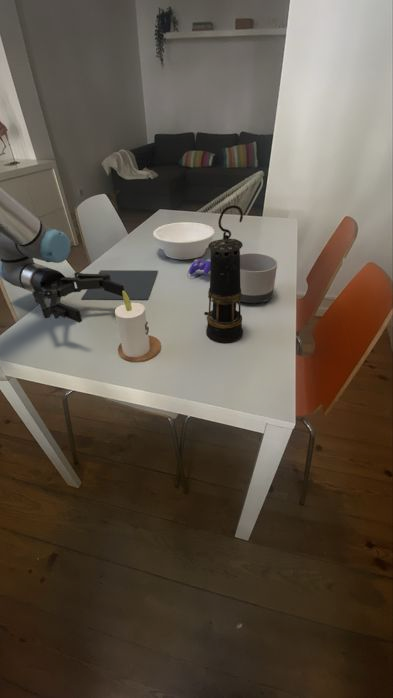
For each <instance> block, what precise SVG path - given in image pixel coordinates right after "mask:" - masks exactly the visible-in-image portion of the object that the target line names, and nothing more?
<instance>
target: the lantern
mask: <svg viewBox="0 0 393 698" xmlns="http://www.w3.org/2000/svg"><path fill="white" fill-rule="evenodd" d="M231 209H236V210H238V212H239V214H240V216H239V223H242V221H243V219H244V214H243V213H244V212H243V210H242V209H241V207H240V206H238V205H233V204H232V205H229V206H226V207H225V208H224V209H223V210H222V211H221V213H220V215H219V218H218V227H219V229H220V230H221V231H222V232H223V233H222V238H221V239H215V240H212V242H211V243H210V244H209V246H208V247H207V248H208V249H209V250H210V259H211V266H210V272H209V288H208V291H207V298H208V311H205V312H204V313H203V315H204V316H206V321H207V327H206V330H205V334H206V336H207V338H208V339H209V340H210V341H212V342H214V343H218V344H233V343H236V342H238V341H239V340H241V339H242V338H243V335H244V329H243V327H242V326H243V325H242V323H243V316H242V314H241V301H240V299H241V288H240V254H241V251H240V250H241V249H242V248H243V242H242V240H239V239H236V238H231V237H232V232H231V230H229V229H227V228H223V226H222V219H223V217H224V214H225V213H226V212H227V211H228V210H231ZM237 302H238V310H237ZM211 307H212V309H211Z"/></svg>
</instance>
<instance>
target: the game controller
mask: <svg viewBox="0 0 393 698" xmlns="http://www.w3.org/2000/svg"><path fill="white" fill-rule="evenodd" d="M210 266H211V258H207V259H206V258H205V259H198V258H195V259H194V261H193V262H192V264H191V265H190V267H189V269H188V271H187V273H188V275H194V274H195V273H196V272H197V271H203V273H201V274H200V275H198V276H196V277H193V278H192V280H194V279H196V278H199V277H200V276H202V275H208V274H210ZM187 278H188V279H189V280H191V278H190V277H189V276H187Z"/></svg>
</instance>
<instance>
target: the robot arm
mask: <svg viewBox="0 0 393 698" xmlns="http://www.w3.org/2000/svg"><path fill="white" fill-rule="evenodd" d="M70 253H71V242H70V239H69V237H68V236H67V235H66V233H65V232H63V231H62V230H58V229H56V228H50V227H49V226H48V225H46V224H45V222H43V221H42V220H41V219H39V218H38V217H37V216H36V215H35V214H34V213H32V212H31V211H30V210H29V209H28V208H27V207H26V206H24V204H22V203H21V202H20V200H18V199H17V198H16V197H14V196H13V195H12V194H11V193H10V192H9V191H7V189H5V188H4V187H3V186H2V185H1V184H0V278H2V279H3V281H5V282H7V283H9V284H10V285H12V286H14V287H18V288H21V289H23V290H26V291H28V292H31V294H32V297H33V298H34V302H35V303H36V304H38V305H39V307H40V309H41V312H42V315H43V317H44V319H49V318H50V317H51V316H52V315H53V318H54V319H59V318H64V319H65V318H68V319H70V320H72V321H74V322H77V323H81V322H83V318H82V317H81V312H80V310H79V309H76V308H74V307H72V306H69V305H66V304H64V303H62V302H61V301H62V298H63V297H66V296H68V295H70V294H73V293H80V292H82V291H87V290H88V289H101V288H104V290H105V291H108V292H111V293H114V294H117V295H120V296H122V297H123V294H122V291H124V287H123V285H120V284H117V283H116V282H113V281H111V278H110V275H109V274H98V273H82V272H73V273H74V274H73V275H74V276H72V277H71V276H65V275H64V274H63V273H62V272H60V271H59V270H57V269H53V268H51V267H48V266H46V265H41V264H39V263H35V260H39V261H44V262H45V263H54V264H60V263H63V262H64V261H66V260H67V259H68V258H69V255H70ZM34 259H35V260H34ZM45 299H48V300H50V302H49V306H47V303H46V301H45Z"/></svg>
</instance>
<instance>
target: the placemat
mask: <svg viewBox="0 0 393 698" xmlns="http://www.w3.org/2000/svg"><path fill="white" fill-rule="evenodd" d="M158 272H159V270H150V269H149V270H144V269H143V270H141V269H139V270H136V269H135V270H131V269H129V270H127V269H126V270H125V269H124V270H123V269H122V270H120V269H119V270H117V269H116V270H115V269H113V270H111V269H109V270H108V269H107V270H106V269H105V270H104V269H102V270H100V271H98V273H97V274H109V275H110V278H111V281H113V282H116V283H117V284H120V285H123V287H124V292H126V294H127V295H128V297H129V300H130V301H149V299H150V295H151V293H152V290H153V287H154V284H155V281H156V279H157V275H158ZM80 300H82V301H86V300H88V301H90V300H91V301H94V300H95V301H124V298H123V297H122V296H120V295H117V294H114V293H111V292H108V291H105V290H104V288H101V289H88V290H85V292H84V294H83V295H82V296H81V298H80Z"/></svg>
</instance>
